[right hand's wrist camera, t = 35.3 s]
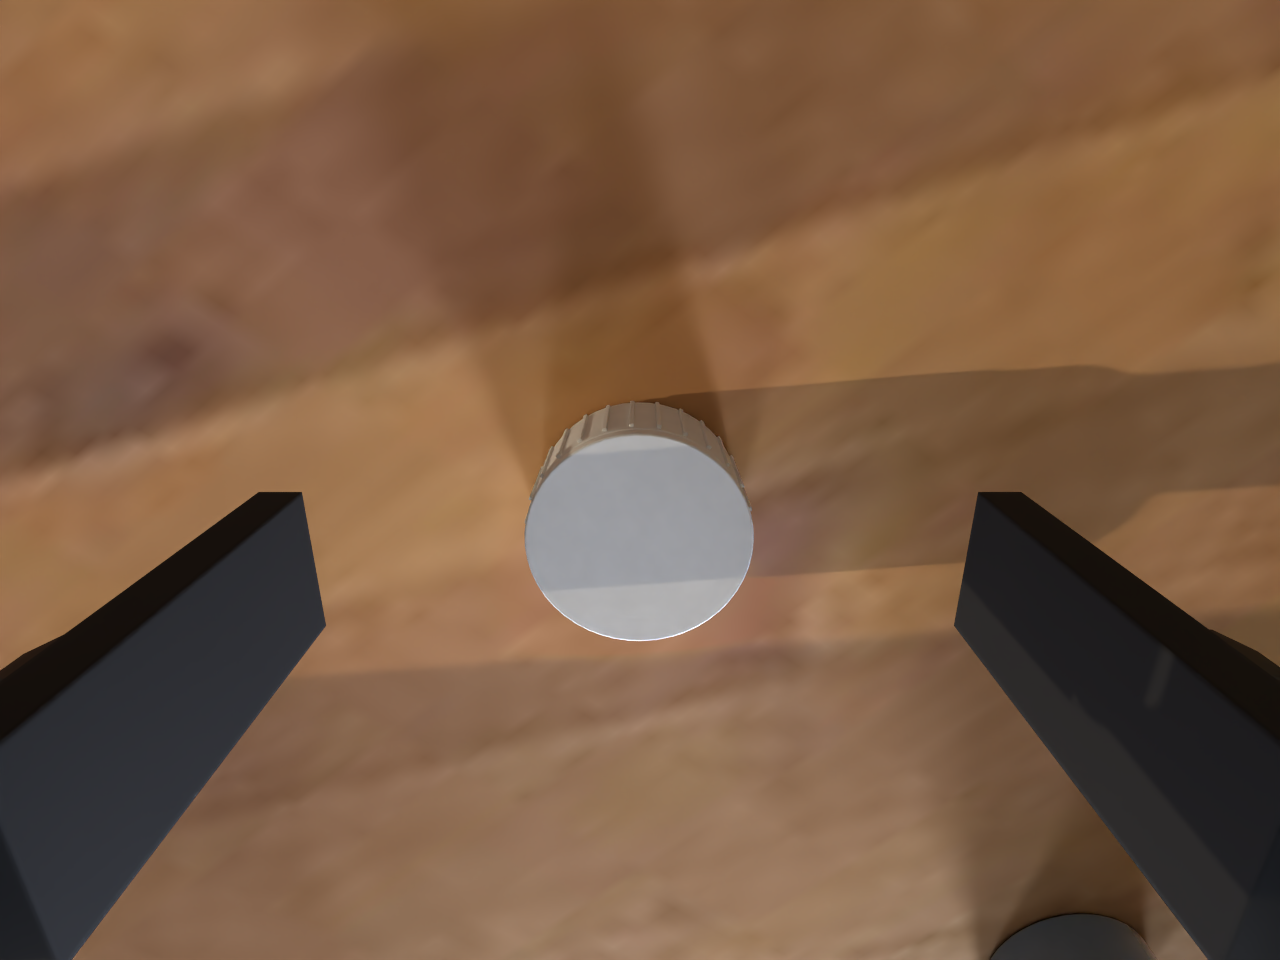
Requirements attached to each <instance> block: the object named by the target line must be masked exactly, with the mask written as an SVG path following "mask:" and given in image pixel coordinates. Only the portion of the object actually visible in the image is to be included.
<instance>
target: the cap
mask: <svg viewBox="0 0 1280 960" xmlns="http://www.w3.org/2000/svg"><path fill="white" fill-rule="evenodd" d="M529 500H532V501H531V504H530V507H529V510H528V514H527V516H526V519H525V524H526V525H525V549H526V555H527V560H528V563H529V566H530V569H531V572H532V574H533V577H534V579H535V581H536V583H537V585H538V586H539V588H540V589H541V591H542V592H543V594H544V595H545V597H546V598H547V599H548V600H549V601H550V602H551V603H552V605H553V606H554V607H555V608H556V609H557V610H559V611H560V612H561V613H562V614H563V615H564V616H566V617H567V618H569V619H570V620H571V621H573V622H574V623H576V624H578V625H580V626H582V627H583V628H585V629H587V630H589V631H592V632H595V633H597V634H600V635H603V636H607V637H611V638H615V639H622V640H631V641H647V640H658V639H663V638H668V637H672V636H675V635H678V634H681V633H684V632H686V631H689V630H691V629H693V628H695V627H697V626H699V625H701V624H702V623H704V622H705V621H707V620H709V619H710V618H711V617H713V616H714V615H715V614H716V613H718V612H719V611H720V610H721V609H722V608H723V607H724V606H725V605H726V604H727V603H728V602H729V601H730V599H731V598H732V597H733V595H734V594H735V593H736V591H737V590H738V588H739V587H740V585H741V583H742V581H743V580H744V578H745V575H746V573H747V570H748V568H749V565H750V560H751V556H752V552H753V541H754V535H753V523H752V518H751V512H750V511H752V508H751V505H750V502H749V499H748V497H747V494H746V492H745V489H744V484H743V482H742V479H741V476H740V474H739V471H738V468H737V466H736V463H735V461H734V458H733V456H732V455H730V456H729V454H728V452H727V451H726V449H725V447H724V445H723V442H722V439H721V438H720V436H718V437H716V436H715V435H714V434H713V432H712V431H711V430H710V429H709V428H707V427H706V426H705V424H704V421H702V420H700V421H698V420H697V419H695V418H694V417H692V416H690V415H689V414H687V413H684V412H683V409H680V408H679V410H678V409H675V408H672V407H668V406H665V405H660V404H659V402H655V404H654V403H642V402H634V401H630V403H623V404H618V405H614V406H610V405H606V408H604V409H601V410H598V411H596V412H594V413H592V414H590V415H587V414H586V415H584V416H583V419H582V420H580V421H579V422H577V423H576V424H575V425H573V426H572V427H571V428H570V429H568V428H567V429H565V431H564V434H563V436H562V437H561V439H560V440H559V441H558V442H557V443H556V445H555V447H553V446H551V448H550V450H549V453H548V455H547V458H546V460H545V463H544V466H541V469H540V472H539V474H538V477H537V479H536V482H535V484H534V487H533V490H532V492H531V495H530V498H529Z"/></svg>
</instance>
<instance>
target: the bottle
mask: <svg viewBox="0 0 1280 960" xmlns="http://www.w3.org/2000/svg"><path fill="white" fill-rule="evenodd" d="M990 960H1158V959H1157V958H1156V957H1155V955H1154V954H1153V952H1152V951H1151V949H1150V948H1149V946H1148V945H1147V944H1146V942H1145V941H1144V939H1143V938H1142V937H1141V936H1140V934H1139V933H1137V932H1136V931H1135V930H1134V929H1133V928H1131V927H1130V926H1128V925H1127V924H1125V923H1123V922H1121V921H1119V920H1116V919H1113V918H1110V917H1107V916H1101V915H1096V914H1071V915H1063V916H1058V917H1053V918H1049V919H1046V920H1043V921H1040V922H1037V923H1035V924H1032V925H1030V926H1028V927H1026V928H1024V929H1022V930H1020V931H1019V932H1017V933H1016V934H1014V935H1013V936H1011V937H1010V938H1009V939H1008V940H1006V941H1005V942H1004V943H1003V944H1002V945H1001V946H1000V947H999V948H998V949H997V950H996V952H995V953H994V954H993V956H992V957H991V959H990Z"/></svg>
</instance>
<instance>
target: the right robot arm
mask: <svg viewBox="0 0 1280 960" xmlns="http://www.w3.org/2000/svg"><path fill="white" fill-rule="evenodd" d="M325 626H326V623H325V618H324V612H323V607H322V601H321V596H320V590H319V585H318V579H317V574H316V568H315V563H314V557H313V552H312V546H311V541H310V535H309V529H308V524H307V518H306V513H305V507H304V502H303V496H302V492H258V493H257V494H256V495H254V496H253V497H251V498H250V499H249V500H247V501H246V502H245V503H243V504H242V505H241V506H239V507H238V508H236V509H235V510H234V511H232V512H231V513H230V514H228V515H227V516H226V517H224V518H223V519H221V520H220V521H219V522H217V523H216V524H215V525H213V526H212V527H210V528H209V529H208V530H206V531H205V532H204V533H202V534H201V535H200V536H198V537H197V538H195V539H194V540H193V541H191V542H190V543H189V544H187V545H186V546H185V547H183V548H182V549H180V550H179V551H178V552H176V553H175V554H174V555H172V556H171V557H170V558H168V559H167V560H165V561H164V562H163V563H161V564H160V565H159V566H157V567H156V568H155V569H153V570H152V571H150V572H149V573H148V574H146V575H145V576H144V577H142V578H141V579H139V580H138V581H137V582H135V583H134V584H133V585H131V586H130V587H129V588H127V589H126V590H124V591H123V592H122V593H120V594H119V595H118V596H116V597H115V598H114V599H112V600H111V601H109V602H108V603H107V604H105V605H104V606H103V607H101V608H100V609H99V610H97V611H96V612H94V613H93V614H92V615H90V616H89V617H88V618H86V619H85V620H84V621H82V622H81V623H79V624H78V625H77V626H75V627H74V628H73V629H71V630H70V631H68V632H67V633H66V634H64V635H62V636H60V637H58V638H56V639H54V640H52V641H50V642H48V643H46V644H44V645H41V646H39V647H37V648H35V649H33V650H31V651H29V652H27V653H25V654H23V655H22V656H20V657H19V658H17V659H16V660H15V661H13V662H12V663H10V664H9V665H8V666H6V667H5V668H3V669H2V670H1V671H0V960H72V959H73V957H74V956H75V955H76V953H77V952H78V951H79V949H80V948H81V947H82V946H83V944H84V943H85V942H86V940H87V939H88V938H89V936H90V935H91V934H92V932H93V931H94V930H95V928H96V927H97V926H98V925H99V923H100V922H101V921H102V919H103V918H104V917H105V915H106V914H107V913H108V911H109V910H110V909H111V907H112V906H113V905H114V904H115V902H116V901H117V900H118V898H119V897H120V896H121V894H122V893H123V892H124V890H125V889H126V888H127V886H128V885H129V884H130V882H131V881H132V880H133V879H134V877H135V876H136V875H137V873H138V872H139V871H140V869H141V868H142V867H143V865H144V864H145V863H146V861H147V860H148V859H149V858H150V856H151V855H152V854H153V852H154V851H155V850H156V848H157V847H158V846H159V844H160V843H161V842H162V840H163V839H164V838H165V836H166V835H167V834H168V833H169V831H170V830H171V829H172V827H173V826H174V825H175V823H176V822H177V821H178V819H179V818H180V817H181V815H182V814H183V813H184V812H185V810H186V809H187V808H188V806H189V805H190V804H191V802H192V801H193V800H194V798H195V797H196V796H197V794H198V793H199V792H200V790H201V789H202V788H203V787H204V785H205V784H206V783H207V781H208V780H209V779H210V777H211V776H212V775H213V773H214V772H215V771H216V769H217V768H218V767H219V766H220V764H221V763H222V762H223V760H224V759H225V758H226V756H227V755H228V754H229V752H230V751H231V750H232V748H233V747H234V746H235V744H236V743H237V742H238V741H239V739H240V738H241V737H242V735H243V734H244V733H245V731H246V730H247V729H248V727H249V726H250V725H251V723H252V722H253V721H254V720H255V718H256V717H257V716H258V714H259V713H260V712H261V710H262V709H263V708H264V706H265V705H266V704H267V702H268V701H269V700H270V699H271V697H272V696H273V695H274V693H275V692H276V691H277V689H278V688H279V687H280V685H281V684H282V683H283V681H284V680H285V679H286V677H287V676H288V675H289V674H290V672H291V671H292V670H293V668H294V667H295V666H296V664H297V663H298V662H299V660H300V659H301V658H302V656H303V655H304V654H305V653H306V651H307V650H308V649H309V647H310V646H311V645H312V643H313V642H314V641H315V639H316V638H317V637H318V635H319V634H320V633H321V631H322V630H323V629H324V628H325ZM954 626H955V628H956V629H957V630H958V632H959V633H960V634H961V635H962V637H963V638H964V639H965V641H966V642H967V643H968V645H969V646H970V647H971V649H972V650H973V651H974V653H975V654H976V655H977V656H978V658H979V659H980V660H981V662H982V663H983V664H984V666H985V667H986V668H987V670H988V671H989V672H990V674H991V675H992V676H993V677H994V679H995V680H996V681H997V683H998V684H999V685H1000V687H1001V688H1002V689H1003V691H1004V692H1005V693H1006V695H1007V696H1008V697H1009V699H1010V700H1011V701H1012V702H1013V704H1014V705H1015V706H1016V708H1017V709H1018V710H1019V712H1020V713H1021V714H1022V716H1023V717H1024V718H1025V720H1026V721H1027V722H1028V723H1029V725H1030V726H1031V727H1032V729H1033V730H1034V731H1035V733H1036V734H1037V735H1038V737H1039V738H1040V739H1041V741H1042V742H1043V743H1044V745H1045V746H1046V747H1047V748H1048V750H1049V751H1050V752H1051V754H1052V755H1053V756H1054V758H1055V759H1056V760H1057V762H1058V763H1059V764H1060V766H1061V767H1062V768H1063V769H1064V771H1065V772H1066V773H1067V775H1068V776H1069V777H1070V779H1071V780H1072V781H1073V783H1074V784H1075V785H1076V787H1077V788H1078V789H1079V791H1080V792H1081V793H1082V794H1083V796H1084V797H1085V798H1086V800H1087V801H1088V802H1089V804H1090V805H1091V806H1092V808H1093V809H1094V810H1095V812H1096V813H1097V814H1098V815H1099V817H1100V818H1101V819H1102V821H1103V822H1104V823H1105V825H1106V826H1107V827H1108V829H1109V830H1110V831H1111V833H1112V834H1113V835H1114V837H1115V838H1116V839H1117V840H1118V842H1119V843H1120V844H1121V846H1122V847H1123V848H1124V850H1125V851H1126V852H1127V854H1128V855H1129V856H1130V858H1131V859H1132V860H1133V861H1134V863H1135V864H1136V865H1137V867H1138V868H1139V869H1140V871H1141V872H1142V873H1143V875H1144V876H1145V877H1146V879H1147V880H1148V881H1149V882H1150V884H1151V885H1152V886H1153V888H1154V889H1155V890H1156V892H1157V893H1158V894H1159V896H1160V897H1161V898H1162V900H1163V901H1164V902H1165V904H1166V905H1167V906H1168V907H1169V909H1170V910H1171V911H1172V913H1173V914H1174V915H1175V917H1176V918H1177V919H1178V921H1179V922H1180V923H1181V925H1182V926H1183V927H1184V928H1185V930H1186V931H1187V932H1188V934H1189V935H1190V936H1191V938H1192V939H1193V940H1194V942H1195V943H1196V944H1197V946H1198V947H1199V948H1200V950H1201V951H1202V952H1203V953H1204V955H1205V956H1206V957H1207V959H1208V960H1280V667H1279V666H1277V665H1276V664H1274V663H1273V662H1272V661H1270V660H1269V659H1267V658H1266V657H1265V656H1263V655H1262V654H1260V653H1259V652H1258V651H1256V650H1253V649H1251V648H1249V647H1247V646H1245V645H1243V644H1241V643H1239V642H1237V641H1235V640H1232V639H1230V638H1228V637H1226V636H1224V635H1222V634H1220V633H1218V632H1216V631H1214V630H1209V629H1207V628H1206V627H1205V626H1203V625H1202V624H1201V623H1199V622H1198V621H1196V620H1195V619H1194V618H1192V617H1191V616H1190V615H1188V614H1187V613H1186V612H1184V611H1183V610H1181V609H1180V608H1179V607H1177V606H1176V605H1175V604H1173V603H1172V602H1171V601H1169V600H1168V599H1166V598H1165V597H1164V596H1162V595H1161V594H1160V593H1158V592H1157V591H1156V590H1154V589H1153V588H1151V587H1150V586H1149V585H1147V584H1146V583H1145V582H1143V581H1142V580H1140V579H1139V578H1138V577H1136V576H1135V575H1134V574H1132V573H1131V572H1130V571H1128V570H1127V569H1125V568H1124V567H1123V566H1121V565H1120V564H1119V563H1117V562H1116V561H1115V560H1113V559H1112V558H1110V557H1109V556H1108V555H1106V554H1105V553H1104V552H1102V551H1101V550H1100V549H1098V548H1097V547H1095V546H1094V545H1093V544H1091V543H1090V542H1089V541H1087V540H1086V539H1085V538H1083V537H1082V536H1080V535H1079V534H1078V533H1076V532H1075V531H1074V530H1072V529H1071V528H1069V527H1068V526H1067V525H1065V524H1064V523H1063V522H1061V521H1060V520H1059V519H1057V518H1056V517H1054V516H1053V515H1052V514H1050V513H1049V512H1048V511H1046V510H1045V509H1044V508H1042V507H1041V506H1039V505H1038V504H1037V503H1035V502H1034V501H1033V500H1031V499H1030V498H1029V497H1027V496H1026V495H1024V494H1023V493H1022V492H978V496H977V502H976V507H975V513H974V518H973V524H972V529H971V535H970V540H969V546H968V551H967V557H966V562H965V568H964V574H963V579H962V585H961V590H960V596H959V601H958V607H957V612H956V618H955V623H954Z"/></svg>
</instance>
